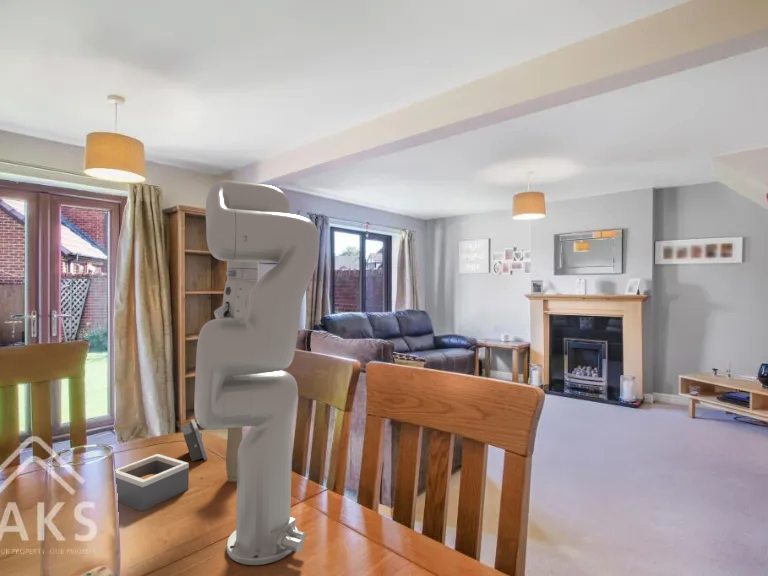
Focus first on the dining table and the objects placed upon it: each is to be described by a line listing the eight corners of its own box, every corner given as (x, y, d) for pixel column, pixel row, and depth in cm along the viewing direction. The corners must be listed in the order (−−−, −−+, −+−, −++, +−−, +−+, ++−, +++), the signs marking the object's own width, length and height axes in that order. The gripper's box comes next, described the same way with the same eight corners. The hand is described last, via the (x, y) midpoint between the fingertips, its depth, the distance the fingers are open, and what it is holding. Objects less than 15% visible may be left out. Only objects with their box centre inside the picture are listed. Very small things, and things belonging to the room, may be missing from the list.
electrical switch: (207, 460, 113) (204, 426, 113) (186, 466, 111) (183, 431, 110) (203, 448, 121) (200, 416, 121) (183, 453, 119) (180, 421, 118)
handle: (234, 487, 98) (235, 423, 98) (217, 480, 102) (218, 417, 102) (251, 479, 102) (252, 417, 102) (234, 472, 106) (235, 413, 106)
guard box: (188, 489, 97) (188, 463, 97) (142, 511, 87) (142, 482, 87) (157, 478, 102) (157, 453, 102) (110, 498, 92) (110, 471, 92)
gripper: (227, 275, 100) (226, 347, 101) (276, 276, 116) (275, 339, 116) (205, 274, 104) (204, 344, 104) (255, 276, 119) (254, 337, 119)
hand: (241, 341), depth 110 cm, fingers open, 9 cm apart
